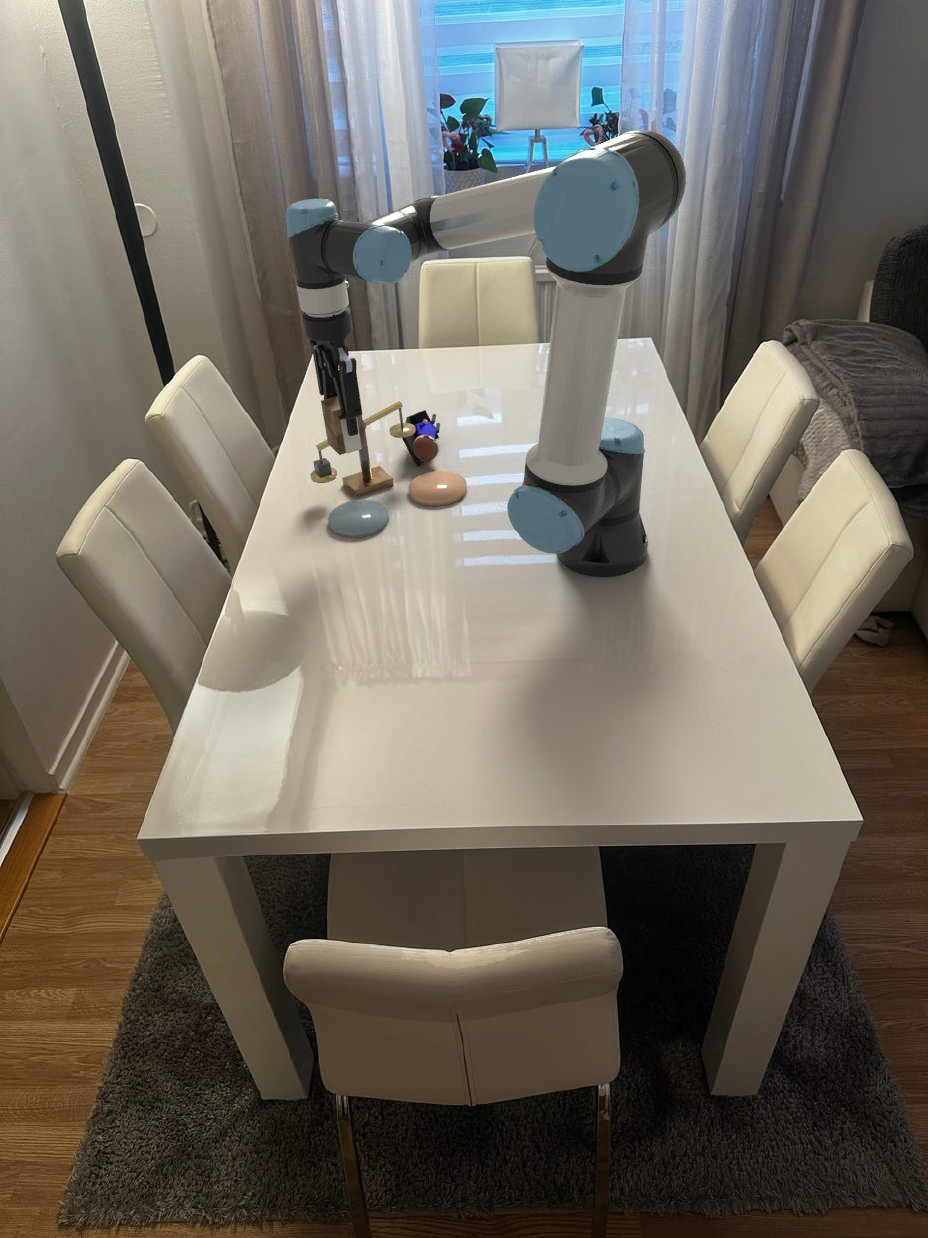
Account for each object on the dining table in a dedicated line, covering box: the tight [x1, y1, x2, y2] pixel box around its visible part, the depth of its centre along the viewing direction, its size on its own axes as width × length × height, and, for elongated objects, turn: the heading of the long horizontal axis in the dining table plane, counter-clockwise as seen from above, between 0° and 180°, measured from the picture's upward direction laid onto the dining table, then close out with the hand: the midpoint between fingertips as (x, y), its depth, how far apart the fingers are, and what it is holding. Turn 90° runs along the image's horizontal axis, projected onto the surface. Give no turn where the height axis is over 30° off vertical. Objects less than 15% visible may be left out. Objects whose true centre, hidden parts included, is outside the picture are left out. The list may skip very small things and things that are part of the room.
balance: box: [309, 401, 416, 498], centre depth 168 cm, size 6×22×15 cm, turn 120°
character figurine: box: [401, 409, 441, 468], centre depth 179 cm, size 8×7×15 cm
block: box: [320, 396, 366, 456], centre depth 151 cm, size 5×5×8 cm
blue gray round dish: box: [327, 499, 390, 539], centre depth 162 cm, size 11×11×1 cm
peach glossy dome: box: [408, 470, 468, 507], centre depth 169 cm, size 11×11×1 cm
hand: (346, 443), depth 153 cm, fingers closed on block, 5 cm apart
